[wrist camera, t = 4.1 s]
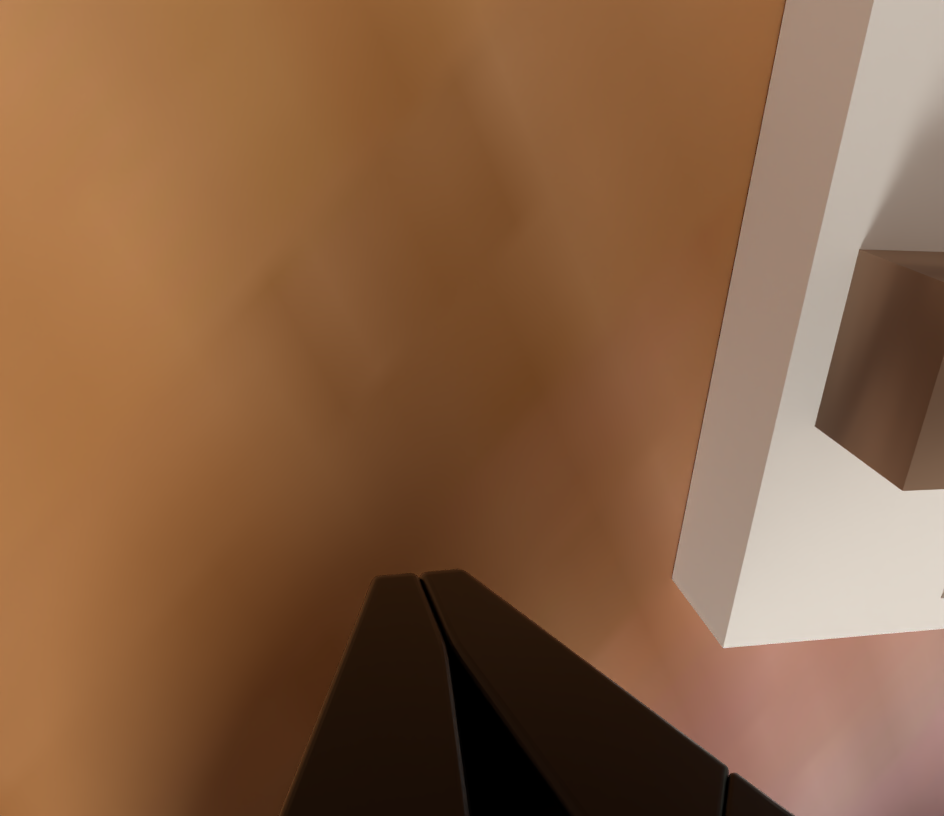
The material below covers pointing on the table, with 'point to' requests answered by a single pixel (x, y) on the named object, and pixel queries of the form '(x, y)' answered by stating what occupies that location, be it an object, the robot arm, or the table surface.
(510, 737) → the robot arm
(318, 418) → the table surface
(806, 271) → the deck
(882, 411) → the block
